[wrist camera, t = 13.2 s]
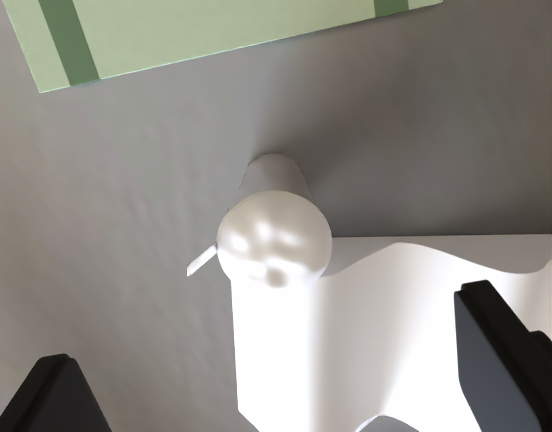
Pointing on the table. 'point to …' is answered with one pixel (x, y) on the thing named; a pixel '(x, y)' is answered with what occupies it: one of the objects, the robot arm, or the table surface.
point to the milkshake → (272, 231)
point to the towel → (165, 31)
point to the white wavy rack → (379, 332)
